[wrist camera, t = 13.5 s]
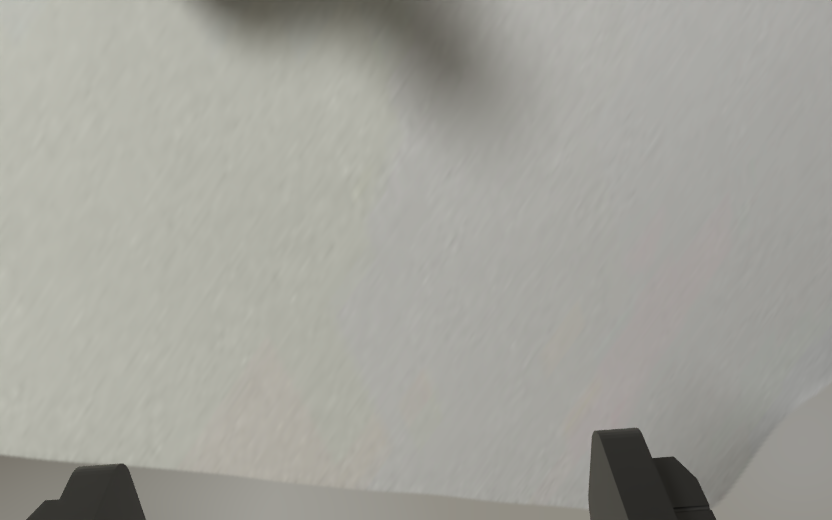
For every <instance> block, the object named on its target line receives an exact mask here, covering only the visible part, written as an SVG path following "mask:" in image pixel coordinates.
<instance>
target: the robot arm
mask: <svg viewBox="0 0 832 520" xmlns="http://www.w3.org/2000/svg"><path fill="white" fill-rule="evenodd" d="M588 496H589V511H590V519H591V520H716V518H715V516H714V514H713V512H712V510H710V508H709V503H708V501H707V499H706V497H705V495H704V493H703V491H702V489H701V486H700V484H699V482H698V480H697V478H696V477H695V476H693V475H692V474H691V473H690V472H689V471H688V470H687V469H686V468H685V467H684V466H683V465H682V464H681V463H680V462H679V461H678V460H677V459H676V458H674V457H662V458H652V457H651V454H650V452H649V449H648V447H647V445H646V442H645V440H644V437H643V435H642V433H641V431H640V430H639V429H638V428H627V429H613V430H599V431H594V432H593V435H592V445H591V461H590V477H589V495H588ZM27 520H146V519H145V516H144V513H143V510H142V507H141V504H140V501H139V498H138V495H137V493H136V489H135V487H134V484H133V481H132V478H131V475H130V472H129V470H128V468H127V466H126V465H124V464H110V465H96V466H83V467H78V468H76V470H74V472H73V473H72V475H71V477H70V479H69V481H68V483H67V485H66V487H65V489H64V491H63V493H62V496H61V497H60V499H59V500H47V501H44V502H43V503H42V504H41V505H40V506H39V507H38V508H37V509H36V510H35V511H34V513H32V514H31V515H30V517H28V519H27Z"/></svg>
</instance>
